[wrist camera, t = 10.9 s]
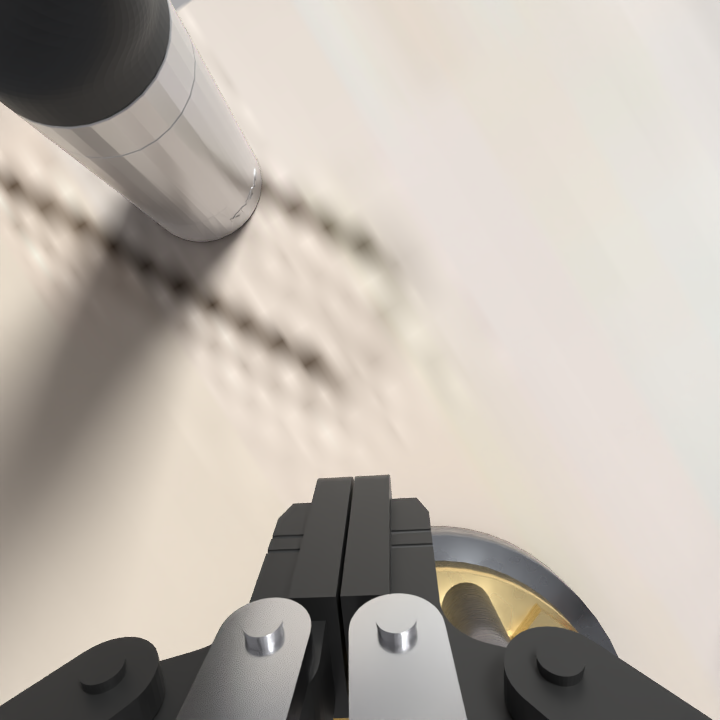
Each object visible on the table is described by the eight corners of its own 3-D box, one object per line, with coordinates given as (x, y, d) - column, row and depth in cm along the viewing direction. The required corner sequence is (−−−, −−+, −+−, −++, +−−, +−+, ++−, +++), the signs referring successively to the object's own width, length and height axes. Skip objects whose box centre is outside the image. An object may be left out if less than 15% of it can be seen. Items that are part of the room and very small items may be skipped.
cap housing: (217, 780, 38) (202, 812, 35) (357, 470, 39) (354, 476, 36) (533, 951, 36) (545, 1001, 33) (670, 618, 37) (694, 636, 34)
